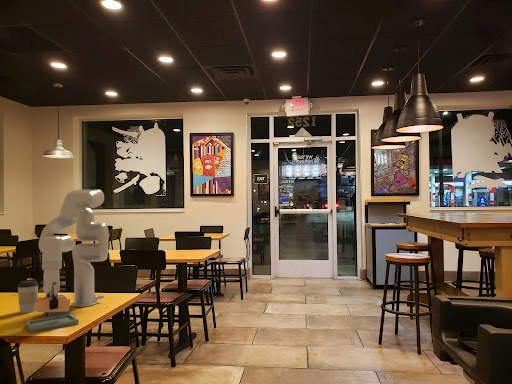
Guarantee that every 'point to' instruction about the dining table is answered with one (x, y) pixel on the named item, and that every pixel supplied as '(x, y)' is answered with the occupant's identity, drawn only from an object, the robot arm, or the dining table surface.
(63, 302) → the orange drawer
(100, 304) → the dining table surface
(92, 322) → the dining table surface
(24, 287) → the coffee cup
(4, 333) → the dining table surface
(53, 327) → the tray
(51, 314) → the bay housing
